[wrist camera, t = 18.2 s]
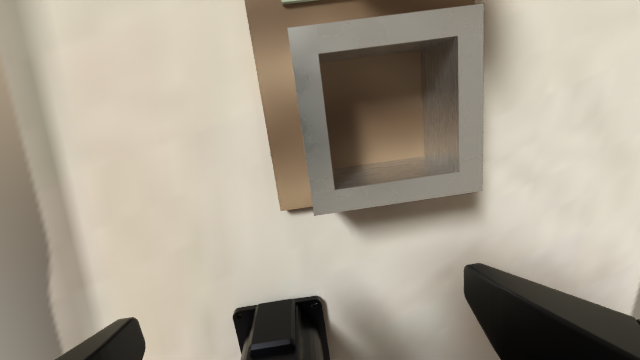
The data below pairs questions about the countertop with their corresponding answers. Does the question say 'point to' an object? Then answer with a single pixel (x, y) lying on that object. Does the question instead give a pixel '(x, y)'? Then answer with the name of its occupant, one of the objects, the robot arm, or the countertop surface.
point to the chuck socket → (437, 102)
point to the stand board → (337, 91)
